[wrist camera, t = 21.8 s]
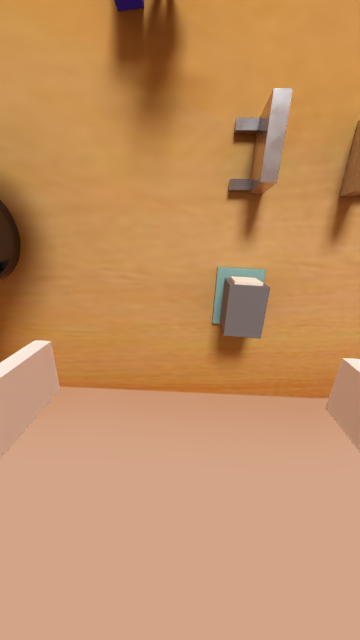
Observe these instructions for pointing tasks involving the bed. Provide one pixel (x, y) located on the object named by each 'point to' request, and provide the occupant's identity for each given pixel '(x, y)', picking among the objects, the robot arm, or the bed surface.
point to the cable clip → (129, 4)
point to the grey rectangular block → (243, 307)
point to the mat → (226, 273)
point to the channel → (271, 144)
